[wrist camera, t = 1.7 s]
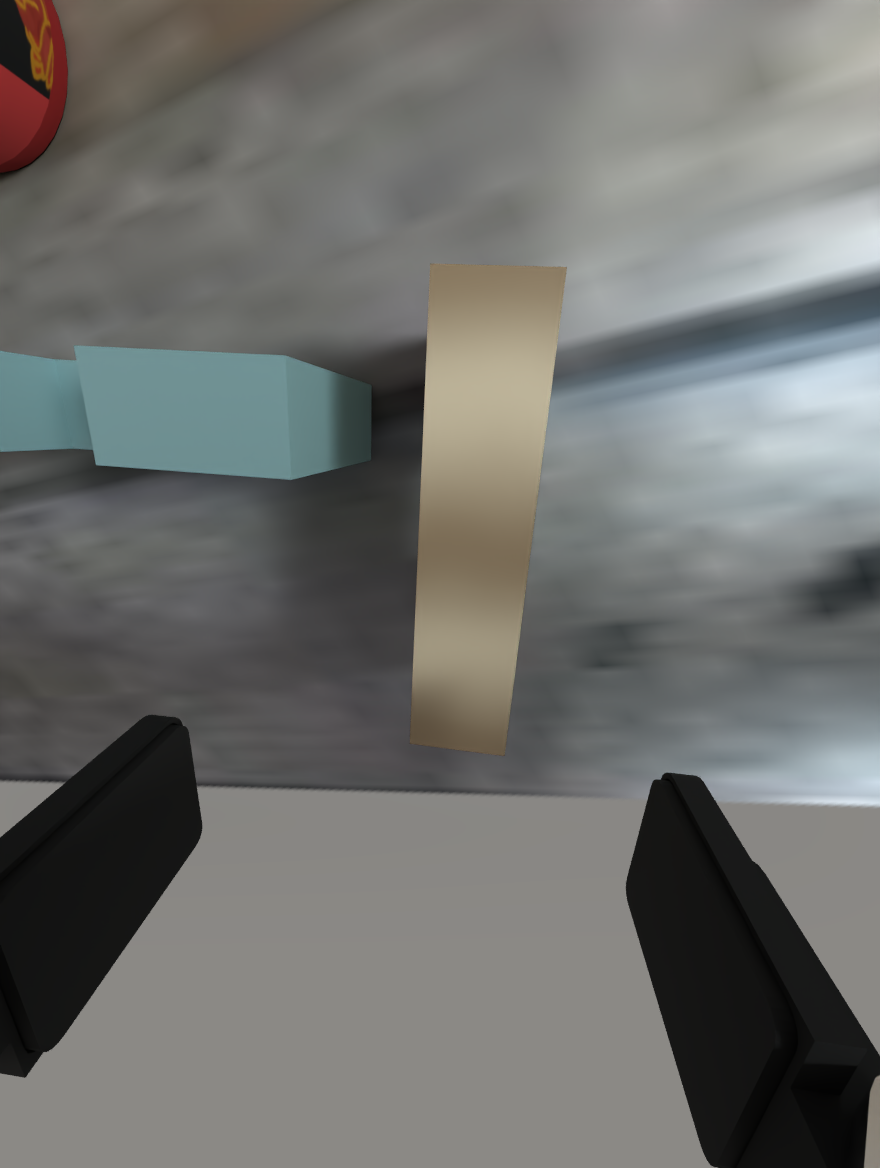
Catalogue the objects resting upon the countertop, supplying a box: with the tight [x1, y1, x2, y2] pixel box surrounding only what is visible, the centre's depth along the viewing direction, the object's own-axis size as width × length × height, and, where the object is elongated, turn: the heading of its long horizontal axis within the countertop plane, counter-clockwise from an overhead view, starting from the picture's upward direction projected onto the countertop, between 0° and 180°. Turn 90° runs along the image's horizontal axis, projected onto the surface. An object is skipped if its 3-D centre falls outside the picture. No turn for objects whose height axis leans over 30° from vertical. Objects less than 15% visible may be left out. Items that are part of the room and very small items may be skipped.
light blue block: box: [0, 345, 372, 480], centre depth 16 cm, size 16×3×8 cm, turn 87°
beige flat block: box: [410, 264, 567, 756], centre depth 16 cm, size 13×3×8 cm, turn 177°
